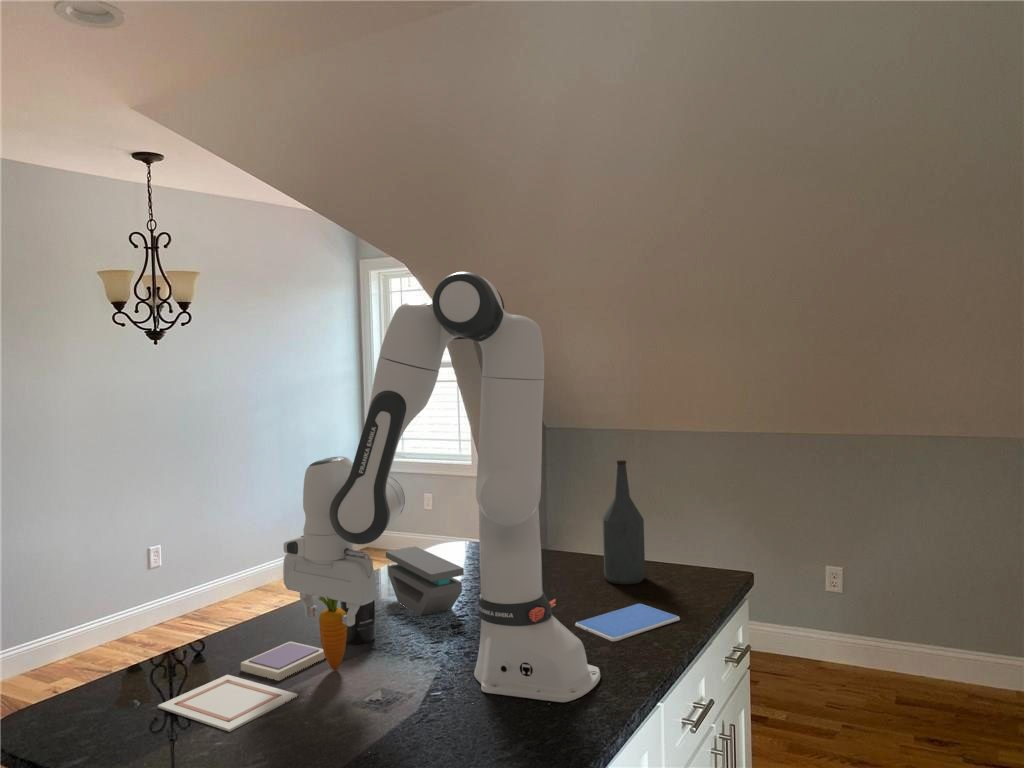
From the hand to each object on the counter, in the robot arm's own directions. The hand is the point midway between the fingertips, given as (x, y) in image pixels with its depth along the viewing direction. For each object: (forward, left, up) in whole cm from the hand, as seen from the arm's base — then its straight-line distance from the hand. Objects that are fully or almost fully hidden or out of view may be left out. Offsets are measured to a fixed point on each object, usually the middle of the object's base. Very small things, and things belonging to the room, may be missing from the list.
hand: (329, 620), depth 142 cm
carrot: (-1, 0, -10) cm, 10 cm away
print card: (+6, +18, -9) cm, 21 cm away
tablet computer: (-39, -47, -10) cm, 62 cm away
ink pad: (+10, +2, -9) cm, 14 cm away
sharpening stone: (+7, -37, -10) cm, 39 cm away
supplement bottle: (+6, -14, -10) cm, 18 cm away
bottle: (-26, -76, -10) cm, 81 cm away
